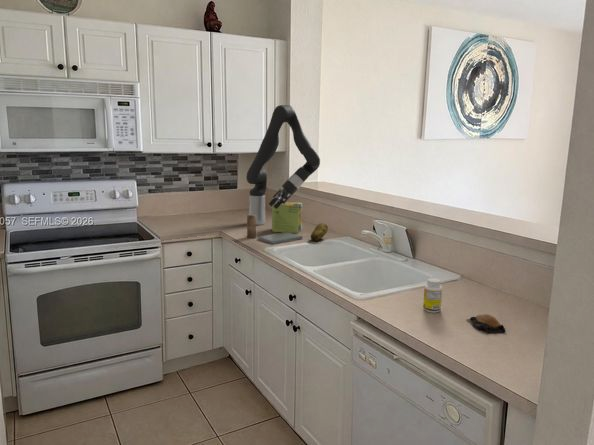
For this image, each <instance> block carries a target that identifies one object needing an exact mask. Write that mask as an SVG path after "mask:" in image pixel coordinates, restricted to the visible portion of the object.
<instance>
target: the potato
mask: <svg viewBox="0 0 594 445" xmlns="http://www.w3.org/2000/svg"><path fill="white" fill-rule="evenodd" d="M328 231H329V226H328V225H327V224H325V223H318V224H317V225H316V226H315V227H314V229H313V231H312V232H311V234H310V239H311V241H313V242H317V241H319V240H321V239H322V238H323V237H324V236H325V235H326V234H327V233H328Z"/></svg>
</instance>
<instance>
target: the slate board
mask: <svg viewBox="0 0 594 445" xmlns="http://www.w3.org/2000/svg"><path fill="white" fill-rule="evenodd" d="M257 240H259V241H262V242H264V243H268V244H271V245H277V244H282V243H288V242H294V241H298V240H300V241H301V240H303V236H302V235H300V234H297V233H289V232H276V233H273V234H267V235H261V236H258V237H257Z"/></svg>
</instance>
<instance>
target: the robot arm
mask: <svg viewBox="0 0 594 445" xmlns="http://www.w3.org/2000/svg"><path fill="white" fill-rule="evenodd" d="M284 123H287V125H288V126H289V127H290V129H291V131H292V135H293V142H294V144H295V146H296V147H297V149H298V151H299V152H300V154H301V155H302V156H303V158H304V160H305V163H304V164H303V165H302V166H300V167H299V168H298V169H297V170H295V172H294V173H293V174H291V176H289V178H288V179H286V181H285V182H284V183H282V185H281V187H282V188H283V189H281V188H279V190H277V191H276V193H274V195H273V196H272V199H271V200H270V201H269V203H268V204H269V206H270V207H272V206H273V205H274V203H276V202H277V203H276V204H275V205H274V208H275V209H277V208H278V207H279V206H280V205H281V204H284V203H285V202H288V201H289V199H290V198H291V196H294V195H295V193H296V192H297V191H298V190H299V189H300V187H301V186H302V185H303V184H304V182H305V181H307V179H308V178H309V177H310V176H311V175H312V174H313V173H315V172H316V171H317V170H318V169H319V167H320V165H321V159H320V155H319V154H318V153H317V152H316V150H315V149H314V148H313V147H312V145H311V142H310V140H309V139H308V137H307V136H306V135H305V132H304V131H303V128H302V126H301V123H300V121H299V119H298V115H297V113H296V111H295V109H294V108H293V106H291V105H289V104H281V105H280V104H279V105H277V106H276V107H275V108H274V109H273V112H272V114H271V118H270V122H269V124H268V128H267V130H266V132H265V135H264V137H263V139H262V141H261V144H260V145H259V146H260V147H259V148H258V151H257V153H256V155H255V157H254V159H253V161H252V162H251V164H250V166H249V169H248V170H247V172H246V182H247V183H248V184H250V185H254V187H253V188H251V189H250V190H249V207H248V215H249V214H254V215H256V226H258V225H265V224H266V192H267V184H268V180H267V179H268V174H267V170H266V169H265V168H263V167H264V166H265V165H266V164H267V163H268V162H269V161H270V160H271V158H273V156H274V155H275V153H276V151H277V149H278V147H279V144H280V138H279V136H280V135H279V133H280V131H281V129H282V126H283V125H284Z"/></svg>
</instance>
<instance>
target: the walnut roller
mask: <svg viewBox="0 0 594 445" xmlns="http://www.w3.org/2000/svg"><path fill="white" fill-rule="evenodd" d="M246 230H247V231H246V236H247V237H246V238H247V239H250V240H251V239H256V238H257V225H256V215H254V214H249V213H248V214H246Z"/></svg>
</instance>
